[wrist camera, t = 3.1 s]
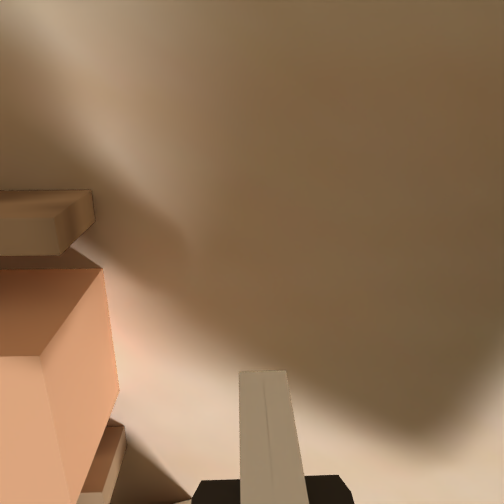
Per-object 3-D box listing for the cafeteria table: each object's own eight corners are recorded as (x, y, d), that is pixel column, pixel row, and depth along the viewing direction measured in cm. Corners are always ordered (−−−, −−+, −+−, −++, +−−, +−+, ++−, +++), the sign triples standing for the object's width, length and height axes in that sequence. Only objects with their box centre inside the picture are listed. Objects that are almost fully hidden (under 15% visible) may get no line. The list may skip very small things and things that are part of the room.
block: (103, 267, 18) (39, 356, 12) (120, 389, 20) (73, 511, 14) (-50, 269, 17) (-186, 359, 12) (-15, 391, 20) (-116, 516, 14)
